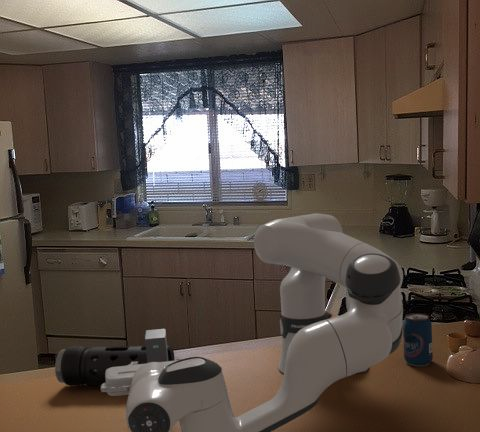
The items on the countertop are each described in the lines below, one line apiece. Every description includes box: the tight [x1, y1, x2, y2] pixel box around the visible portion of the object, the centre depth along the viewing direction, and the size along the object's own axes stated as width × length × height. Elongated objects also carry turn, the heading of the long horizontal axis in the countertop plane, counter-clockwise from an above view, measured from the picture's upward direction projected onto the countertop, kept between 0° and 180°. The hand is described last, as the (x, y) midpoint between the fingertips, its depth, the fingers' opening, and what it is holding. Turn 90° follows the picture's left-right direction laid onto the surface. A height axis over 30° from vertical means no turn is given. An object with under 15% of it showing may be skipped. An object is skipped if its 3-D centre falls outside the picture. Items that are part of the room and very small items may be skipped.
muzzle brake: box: [54, 344, 175, 388], centre depth 144 cm, size 10×28×10 cm, turn 83°
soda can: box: [402, 312, 434, 367], centre depth 146 cm, size 7×7×12 cm
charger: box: [144, 328, 168, 363], centre depth 134 cm, size 4×5×12 cm
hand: (157, 362), depth 125 cm, fingers open, 8 cm apart
